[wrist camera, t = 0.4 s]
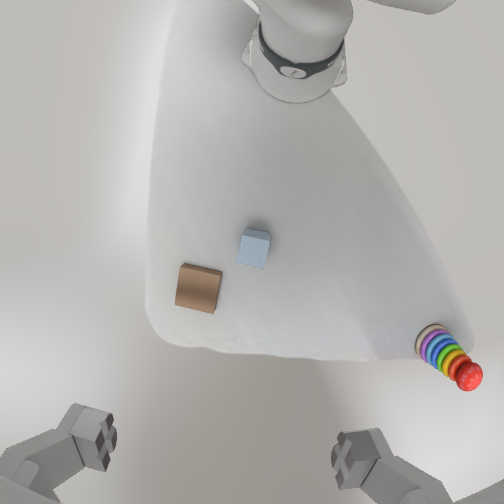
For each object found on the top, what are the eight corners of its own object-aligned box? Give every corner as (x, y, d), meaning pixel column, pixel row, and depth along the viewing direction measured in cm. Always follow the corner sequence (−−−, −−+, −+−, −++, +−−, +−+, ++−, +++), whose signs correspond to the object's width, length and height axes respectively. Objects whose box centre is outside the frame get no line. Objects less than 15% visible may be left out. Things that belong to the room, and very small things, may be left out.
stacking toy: (448, 345, 56) (493, 388, 38) (418, 363, 57) (458, 413, 39) (441, 316, 55) (491, 356, 36) (410, 335, 56) (453, 383, 37)
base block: (184, 263, 56) (180, 266, 53) (222, 271, 56) (220, 275, 53) (179, 299, 57) (174, 304, 54) (215, 307, 57) (213, 313, 54)
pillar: (246, 227, 54) (242, 235, 44) (269, 232, 54) (270, 241, 44) (241, 250, 54) (236, 262, 44) (264, 255, 54) (264, 268, 44)
